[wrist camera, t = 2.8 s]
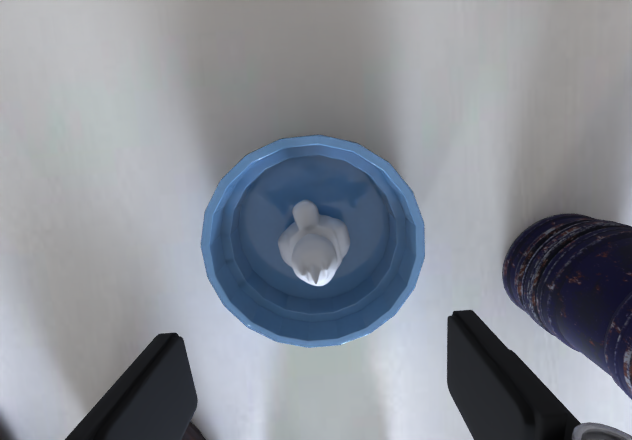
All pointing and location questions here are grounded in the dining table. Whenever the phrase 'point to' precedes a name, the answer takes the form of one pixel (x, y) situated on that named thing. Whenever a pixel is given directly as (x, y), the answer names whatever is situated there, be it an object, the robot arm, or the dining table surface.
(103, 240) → the dining table surface
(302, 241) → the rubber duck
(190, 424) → the manual coffee grinder
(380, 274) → the bowl
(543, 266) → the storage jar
